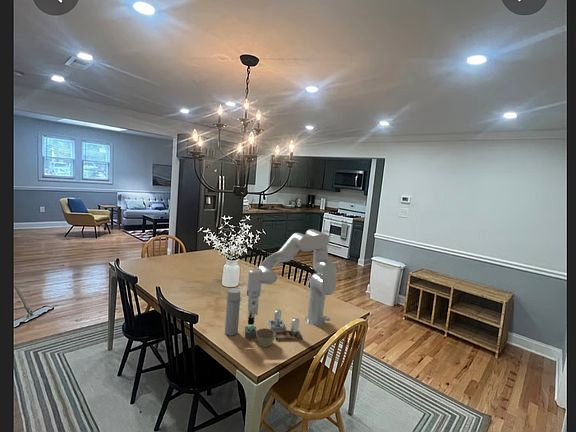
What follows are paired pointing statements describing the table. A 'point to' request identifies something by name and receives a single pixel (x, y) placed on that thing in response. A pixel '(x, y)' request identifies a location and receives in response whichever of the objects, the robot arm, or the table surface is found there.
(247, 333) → the console
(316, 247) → the robot arm
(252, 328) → the button
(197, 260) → the table surface
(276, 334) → the pallet board
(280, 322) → the tote
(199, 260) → the table surface
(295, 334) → the billet
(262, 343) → the flower pot
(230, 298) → the water bottle
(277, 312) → the billet
